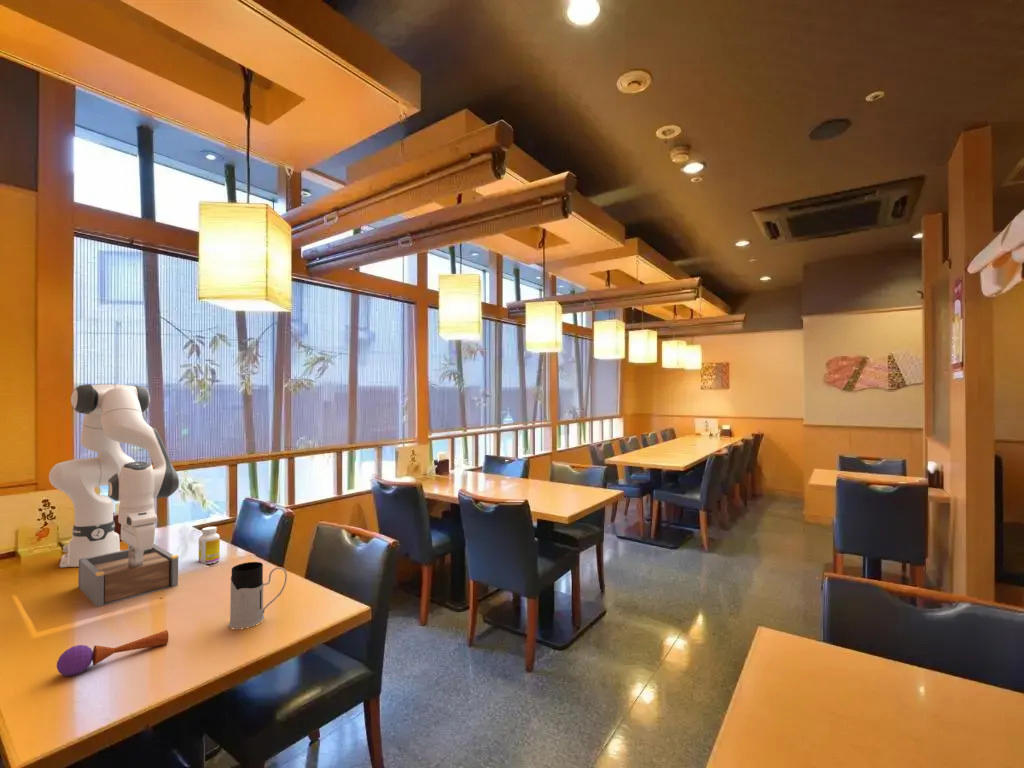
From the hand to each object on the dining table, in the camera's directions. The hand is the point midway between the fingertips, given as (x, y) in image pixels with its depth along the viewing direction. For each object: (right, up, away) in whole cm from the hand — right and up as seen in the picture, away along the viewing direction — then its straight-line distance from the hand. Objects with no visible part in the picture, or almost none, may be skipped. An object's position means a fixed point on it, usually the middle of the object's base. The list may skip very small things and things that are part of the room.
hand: (135, 559), depth 148 cm
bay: (-6, -11, +4) cm, 14 cm away
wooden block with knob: (-3, -10, +2) cm, 11 cm away
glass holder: (+47, -11, -17) cm, 51 cm away
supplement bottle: (+4, -12, +30) cm, 32 cm away
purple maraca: (+24, -10, -37) cm, 45 cm away
